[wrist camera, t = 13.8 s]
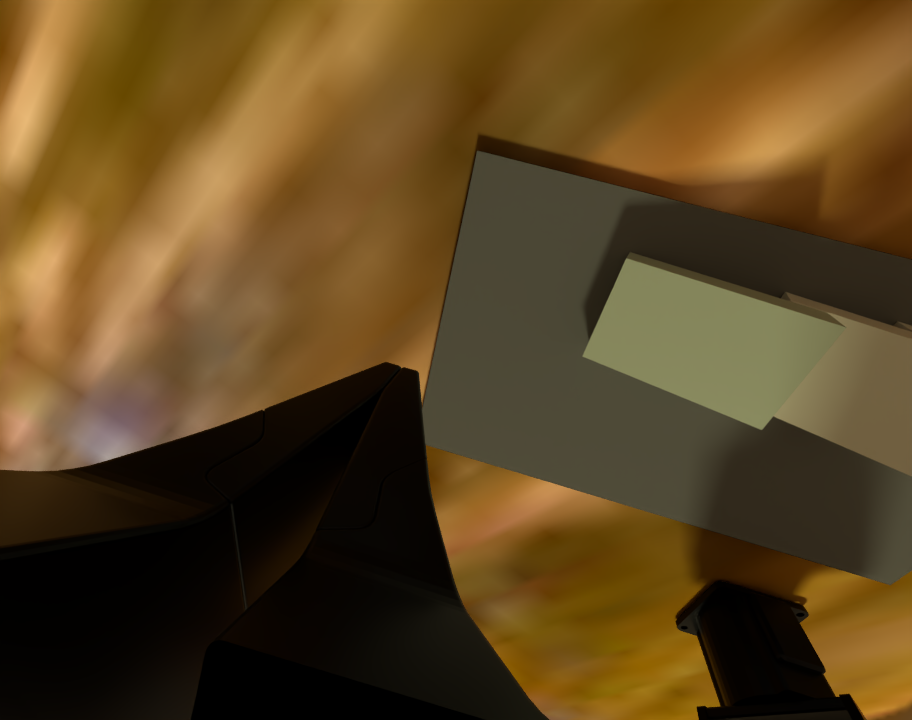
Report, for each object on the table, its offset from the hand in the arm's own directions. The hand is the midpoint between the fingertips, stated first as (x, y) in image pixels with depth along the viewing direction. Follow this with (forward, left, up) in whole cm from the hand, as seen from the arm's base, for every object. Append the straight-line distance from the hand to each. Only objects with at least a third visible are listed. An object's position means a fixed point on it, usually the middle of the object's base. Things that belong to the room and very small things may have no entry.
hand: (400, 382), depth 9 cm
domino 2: (0, -14, -11) cm, 18 cm away
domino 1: (0, -7, -11) cm, 13 cm away
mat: (-4, -15, -12) cm, 20 cm away
